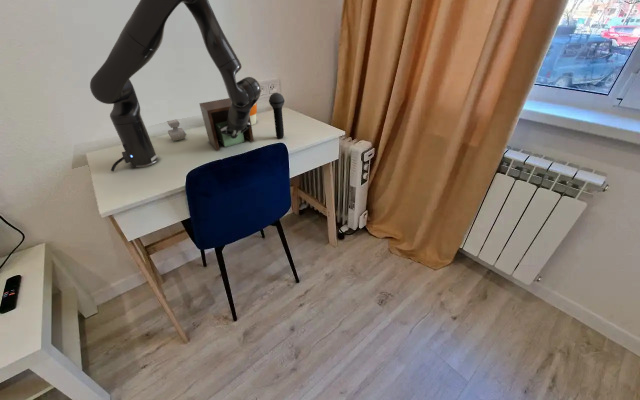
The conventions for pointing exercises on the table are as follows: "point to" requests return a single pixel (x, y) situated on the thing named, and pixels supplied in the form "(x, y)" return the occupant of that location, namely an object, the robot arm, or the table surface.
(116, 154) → the table surface
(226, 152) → the table surface
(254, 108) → the reusable coffee cup
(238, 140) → the basket
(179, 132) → the stamp
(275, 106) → the microphone
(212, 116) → the cubby
